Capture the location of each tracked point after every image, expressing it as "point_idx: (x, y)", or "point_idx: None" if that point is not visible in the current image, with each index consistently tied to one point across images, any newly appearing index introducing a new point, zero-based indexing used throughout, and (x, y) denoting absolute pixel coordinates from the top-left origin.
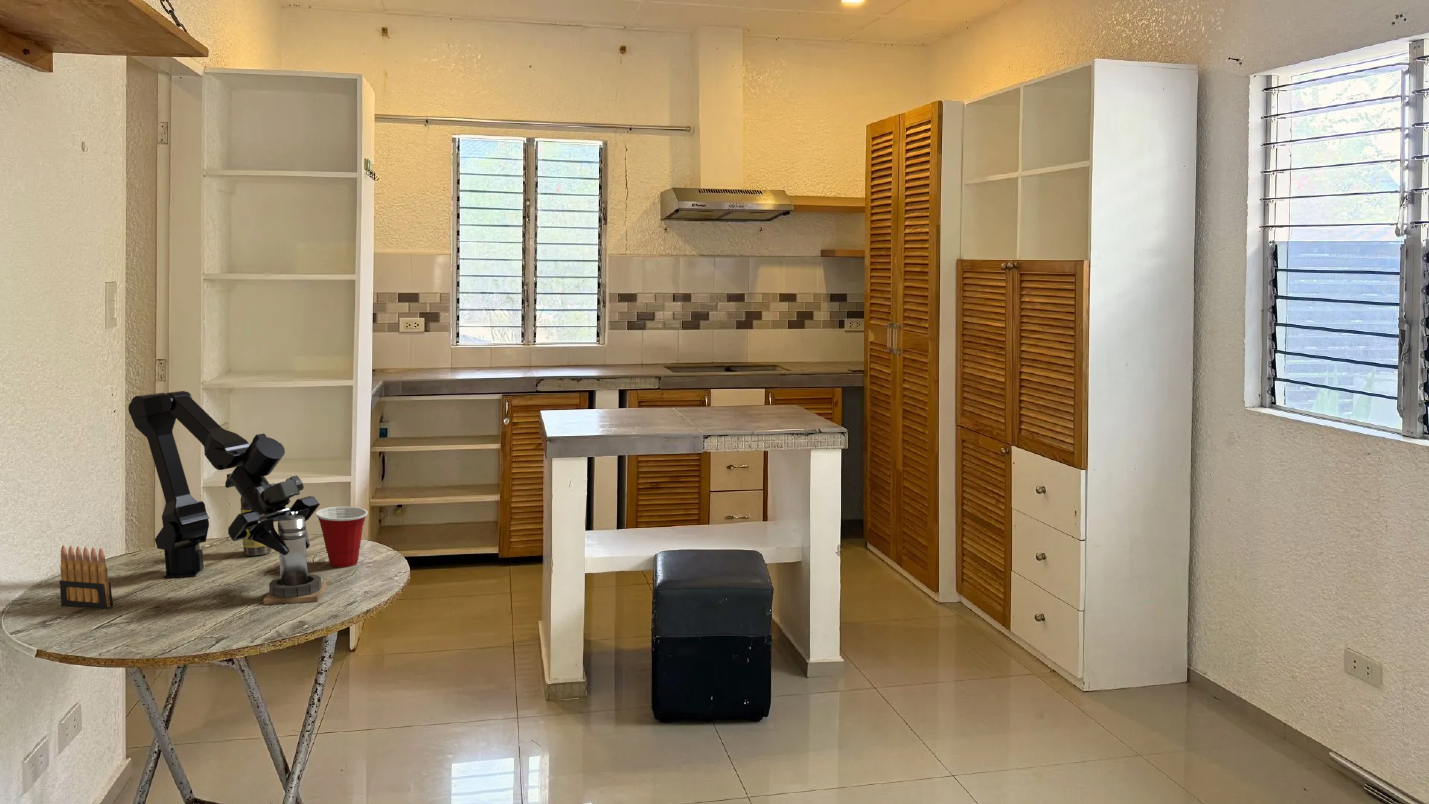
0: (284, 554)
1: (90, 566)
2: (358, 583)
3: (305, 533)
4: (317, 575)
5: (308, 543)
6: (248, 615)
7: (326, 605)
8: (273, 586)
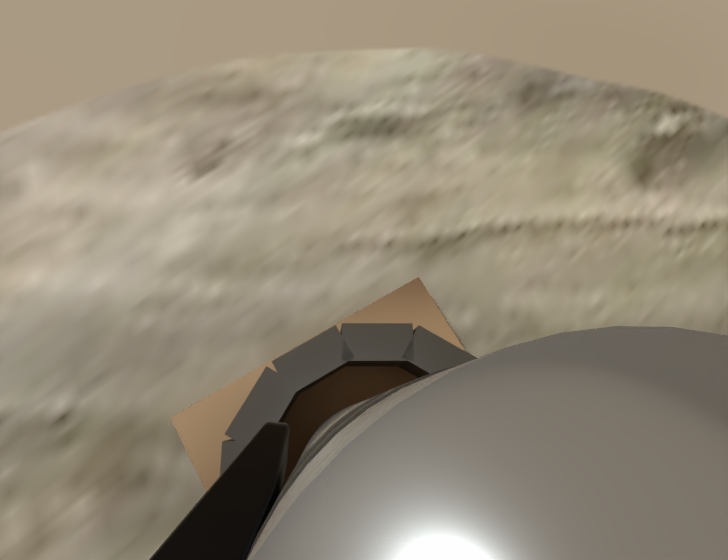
0: None
1: None
2: (82, 285)
3: (199, 548)
4: (233, 419)
5: (270, 436)
6: None
7: (441, 209)
8: None
